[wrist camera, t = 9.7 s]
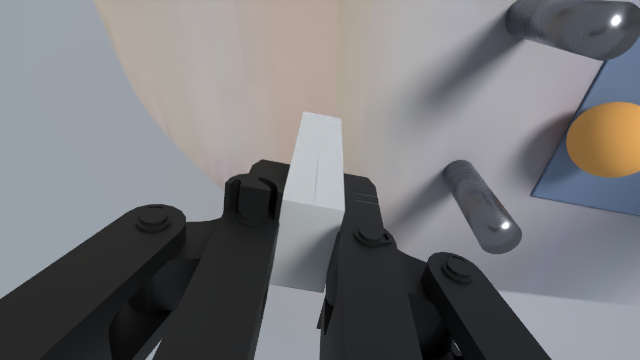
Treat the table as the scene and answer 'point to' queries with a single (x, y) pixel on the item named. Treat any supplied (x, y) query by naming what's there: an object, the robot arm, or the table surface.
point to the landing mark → (574, 183)
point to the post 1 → (481, 209)
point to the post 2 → (577, 25)
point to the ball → (606, 140)
